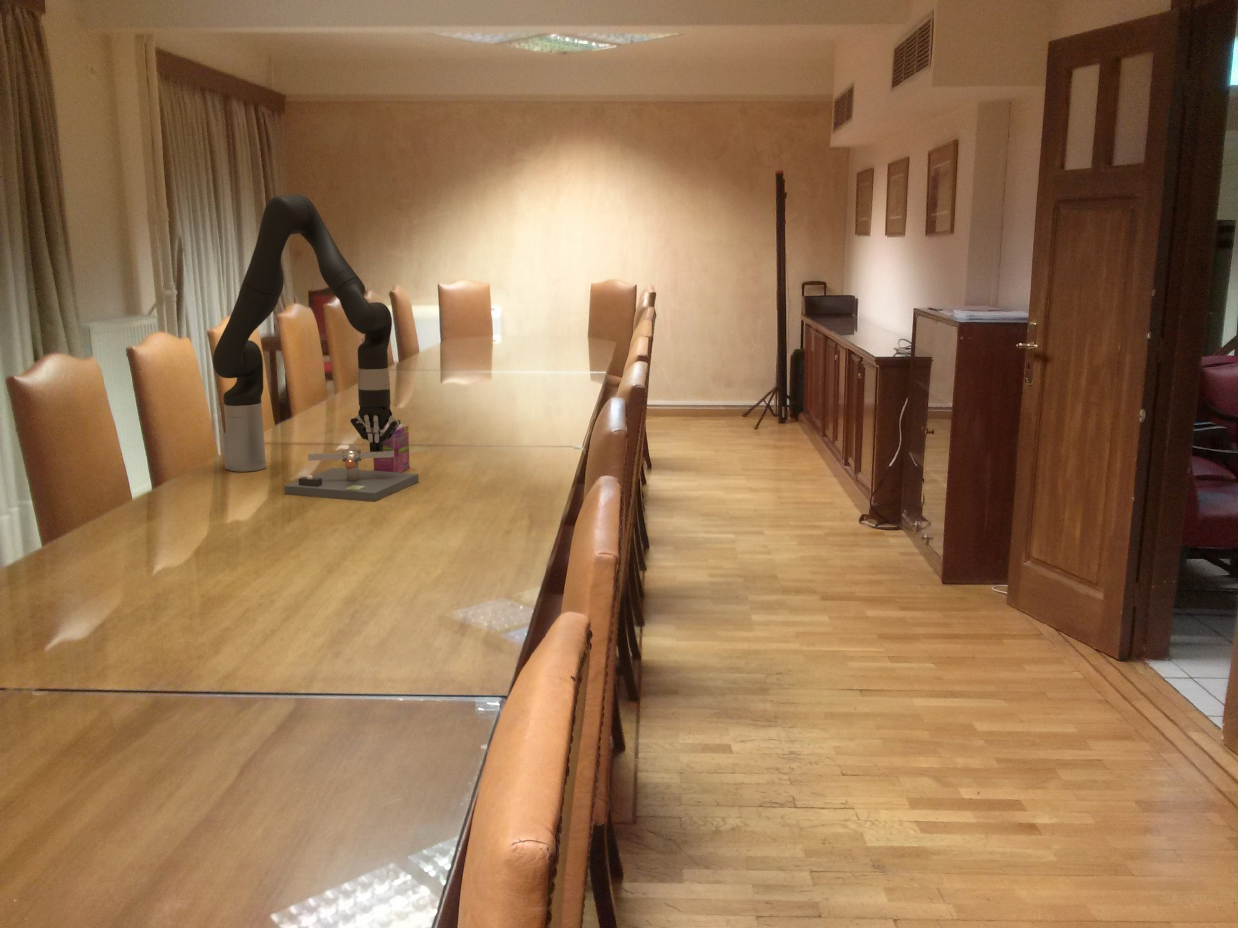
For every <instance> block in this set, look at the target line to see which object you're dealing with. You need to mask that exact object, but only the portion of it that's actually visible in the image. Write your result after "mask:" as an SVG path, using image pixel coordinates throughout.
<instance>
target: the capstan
mask: <svg viewBox="0 0 1238 928" xmlns="http://www.w3.org/2000/svg"><path fill="white" fill-rule="evenodd" d="M384 457H394V450H388V451H370V450H368V451H364V450H363V451H362V450H361V449H360V448H356V444H349V447H348V448H347V449H343V450H341V452H321V453H319V452H318V453H314V452H313V453H308V454H307V458H308V459H307V461H311V462H312V461H329V460H330V461H331V460H334V461H335V460H342V462H344V466H345V469H346V468H347V469H349V470H351V469H354V468H355V466H356V463H355V462H358V463H359V462H361V461H362V459H373V458H384Z"/></svg>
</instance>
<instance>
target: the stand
mask: <svg viewBox="0 0 1238 928" xmlns="http://www.w3.org/2000/svg"><path fill="white" fill-rule="evenodd" d="M355 463H356V466H355V468H354V469H351V470H349V469H347V468H346V467H345V468H342V467H340V468H339V467H332V468H328V469H326V470H324V471H321V472H318V473H315V474H313V475H312V474H308V475H307V476H302V477H300V478H298V480H296V481H294V482H291V483H289V484H286V485H284V495H291V496H292V495H293V496H303V497H304V496H305V497H313V498H314V497H316V498H317V497H318V498H327V499H340V500H351V501H352V500H355V501H366V502H377V501H379V500H382V499H384V498H386V497H388V496H391V495H393V494H395V493H397V492H400V491H402V490H404V489H406V488H408V487H411V486H413V485H415V484H417V483H419V482H420V481H419V473H410V472H409V473H408V472H401V473H397V472H383V471H374V470H367V469H359V461H358V462H355Z"/></svg>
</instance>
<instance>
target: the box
mask: <svg viewBox="0 0 1238 928" xmlns="http://www.w3.org/2000/svg"><path fill="white" fill-rule="evenodd" d="M388 427H389V425H388V423H387V425H386V426H385V431H386V430H387V428H388ZM409 432H410V431H409V423H400V425H399V426H398V428H397V429H396V430H395V432H394V433H393V435H392V436H391V438H390V439H387V440H385V441H383V451H388V450H394V457H384V458H372V460H373V471H383V472H397V473H404V472H405V471H407V470H408V469H410V468H411V465H410V437H409V435H410V433H409Z"/></svg>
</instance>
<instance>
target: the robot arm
mask: <svg viewBox="0 0 1238 928" xmlns="http://www.w3.org/2000/svg"><path fill="white" fill-rule="evenodd" d="M263 210H264V211H263V213H262V218H261V221H260V228H259V231H258V234H257V239H256V242H255V247H254V248H253V253H252V256H251V259H250V262H249V265H248V268H247V270H246V273H245V275H244V278H243V280H242V284H241V286H240V289H239V292H238V295H237V299H236V302H235V304H234V306H233V309H232V312H231V314H230V317H229V319H228V322H227V324H226V326H225V328H224V330H223V331H222V334H221V336H220V337H219V340H218V342H217V344H216V346H215V348H214V351H213V357H212V366H213V369H214V371H215V373H216V374H217V375H218V376H219V377H221V378H223V379H236V381H235V384H233V385H232V386H231V388H230V389H228V390H227V391H225V392H224V393H223V396H222V397H223V398H222V399H223V408H224V410H223V411H224V412H223V413H224V423H225V424H224V425H225V432H223V434H222V440H223V441H222V442H223V455H224V457H223V458H224V466H225V470H229V471H230V472H231V471H232V472H241V473H242V472H244V473H246V472H254V471H255V472H256V471H261V470H264V469H265V468H267V462H266V448H265V447H266V446H265V434H264V421H263V420H264V419H263V408H262V407H263V405H262V395H263V393H264V359H263V353H262V350H261V348H260V347H259V344H258V343H256V342H255V341H253V340H250V337H251V336H252V334H253V333H254V332H255V331H256V330H257V328H259V327H260V326H261V325H262V324H263V323H264V322H265V321H266V320H267V319H268V317H269V316H270V315H272V313H273V311H274V310H275V309H276V307H277V305H278V303H279V300H280V297H281V294H282V291H283V289H284V284H285V283H284V282H285V275H284V270H283V266H282V265H283V264H282V256H283V252H284V249H285V246H286V244H287V241H288V239H289V237H290V236H291V235H297V234H299V235H300V236H302V237H303V239H304V240H305V241H307V242H308V243H309V245H310V246H311V248H312V249H313V252H314V255H315V256H316V260H317V266H318V269H319V272H320V275H321V277H322V279H323V281H324V283H325V284H326V286H327V287H329V289H330V290H331V292H332V293H333V294H334V296H335V297H336V298H337V299H338V301H339V303H340V306H341V309H342V310H343V312H344V314H345V315H344V316H346V319H347V321H348V322H349V324H350V325H351V326H352V328H353V329H355V330H356V331H357V332H358V333H362V334H365V337H364V340H363V342H362V343H361V344H360V345H359V346H358V347H357V366H358V367H357V368H358V369H357V370H358V372H357V392H358V395H357V397H358V406H359V409H358V412H357V413H358V414H357V415H356V416H355V417H353V418H350V423H351V425H352V426H353V427H354V429H355V430H356V432H357V433H358V435H359V436H360V437H361V439H363V440H366V441H368V442H369V451H383V441H385V440H387V439H390V438H391V436H392V435H393V433H394V432H395V430H396V429H397V428H398V426H399V425H400V424H402V423H401V420H400V419H396V418H395V417H394V416H393V413H392V411H391V405H392V403H391V402H392V401H391V380H390V379H391V378H390V373H389V358H388V357H389V355H388V349H389V346H390V340H391V339H390V338H391V333H392V328H393V317H392V313H391V310H390V309H389V307H388V306H387V304H384V303H383V302H378V301H377V302H376V301H375V302H369V301H367V299H366V298H365V296H364V294H365V292H366V287H365V284H364V282H363V281H362V279H360V277H359V276H358V274H357V273H356V272H355V270H354V269H353V268H352V266H351V265H350V264H349V262H348V261H347V259H345V257H344V255H343V254H342V252H341V251H340V250H339V248H338V246H337V244H336V243H335V241H334V238H333V237H332V235H331V233H330V231H329V229H328V227H327V226H326V224H325V222H324V220H323V219H322V216H321V215H320V213H319V211H318V209H317V208H316V206H315V204H314V203H313V202H312V201H311V200H310V199H309V198H308V197H307V196H306V195H303V194H296V193H295V194H280V195H276V196H273V197H272V198H270V199H269V200H268V201H267V203H266V205H265V208H264V209H263ZM387 424H388V425H389V427H388V428H387V430H386V431H385V426H386V425H387Z"/></svg>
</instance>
